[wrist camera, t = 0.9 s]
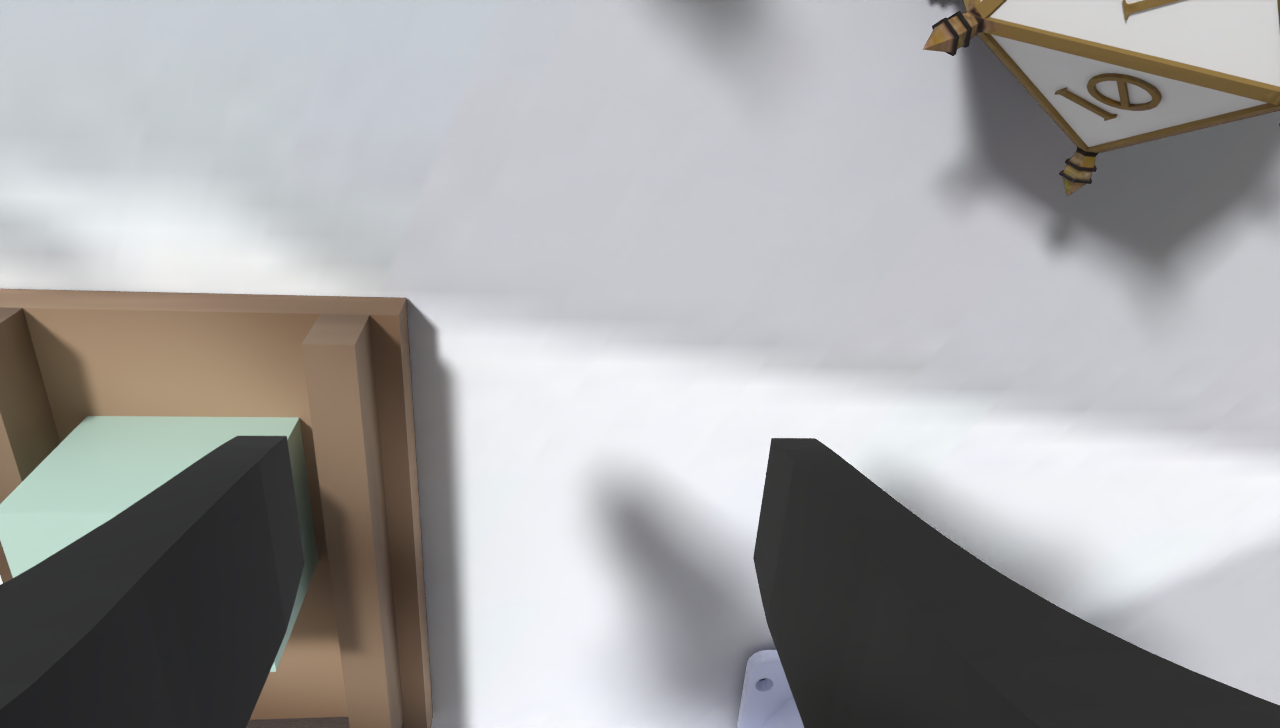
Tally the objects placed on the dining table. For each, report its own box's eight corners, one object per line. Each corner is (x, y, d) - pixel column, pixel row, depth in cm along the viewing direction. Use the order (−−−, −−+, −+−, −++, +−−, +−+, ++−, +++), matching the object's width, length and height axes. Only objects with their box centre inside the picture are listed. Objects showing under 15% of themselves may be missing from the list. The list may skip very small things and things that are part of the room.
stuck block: (318, 560, 20) (276, 671, 17) (126, 563, 20) (46, 677, 17) (299, 417, 19) (249, 511, 16) (87, 415, 18) (-9, 512, 15)
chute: (432, 715, 24) (415, 828, 21) (102, 726, 23) (32, 846, 20) (406, 297, 19) (376, 367, 16) (-33, 288, 18) (-159, 361, 15)
